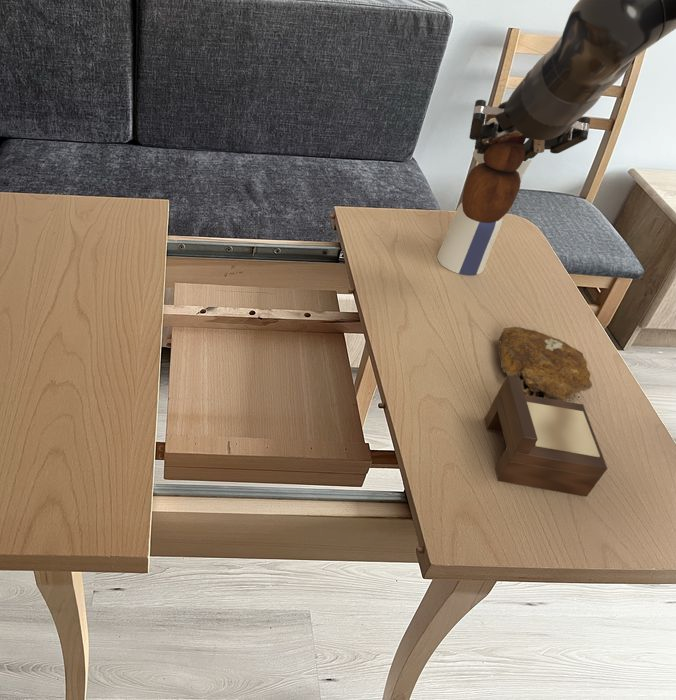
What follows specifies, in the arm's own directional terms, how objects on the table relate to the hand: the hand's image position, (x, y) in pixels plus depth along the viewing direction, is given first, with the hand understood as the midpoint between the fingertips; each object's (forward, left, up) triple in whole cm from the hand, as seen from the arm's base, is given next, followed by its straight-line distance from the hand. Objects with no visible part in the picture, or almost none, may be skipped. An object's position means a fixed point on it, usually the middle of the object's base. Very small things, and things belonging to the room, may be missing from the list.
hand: (502, 150), depth 92 cm
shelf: (-6, +33, -23) cm, 41 cm away
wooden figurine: (0, +2, -9) cm, 10 cm away
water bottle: (-3, -9, -23) cm, 25 cm away
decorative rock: (-10, +18, -23) cm, 31 cm away
